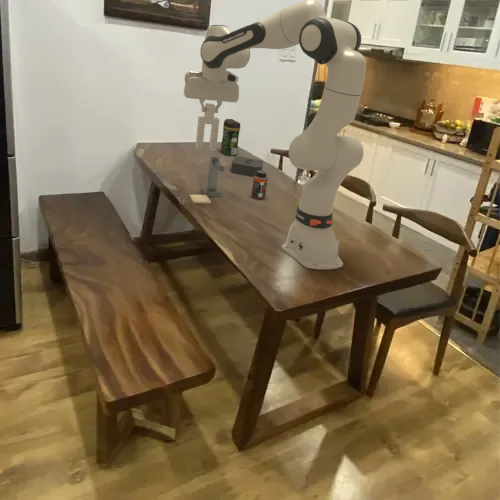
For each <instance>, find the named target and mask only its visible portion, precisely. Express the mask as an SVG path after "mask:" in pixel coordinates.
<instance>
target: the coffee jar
mask: <svg viewBox="0 0 500 500" xmlns="http://www.w3.org/2000/svg"><path fill="white" fill-rule="evenodd" d="M222 127H223V130H222V139H221V145H220V152H221V153H222V154H223V155H226V156H230V157H234V156H237V155H238V146H239V136H240V131H241V122H239V121H236V120H235V119H233V118H225V119H224V121H223V126H222Z"/></svg>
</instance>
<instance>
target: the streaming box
mask: <svg viewBox="0 0 500 500" xmlns="http://www.w3.org/2000/svg"><path fill="white" fill-rule="evenodd" d="M263 167H264V161H263V160H260V159H257V158H250V157H245V156H244V157H243V156H235V157H234V158H233V160H232V161H231V168H230V173H232V174H237V175H243V176H247V177H249V176H250V177H254V176H256V175H257V171H263Z"/></svg>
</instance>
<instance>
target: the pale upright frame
mask: <svg viewBox="0 0 500 500" xmlns="http://www.w3.org/2000/svg"><path fill="white" fill-rule="evenodd" d="M204 107H207V110H206V112H204V115H203V116H200V115H199V116H198V119H197V130H196V138H195V139H196V140H195V149H196V150H197V151H203V149H204V148H203V147H204V137H205V129H206V125H211V128H210V135H209V145H208V146H209V147H208V149H209V150H210V151H212V152H213V151H214V152H216V151H217V145H218V138H219V137H218V136H219V127H220V126H219V125H220V119H219V117H215V114H216V113H215V108H216V105H215V104H214V103H208V102H207V103H205V104H204Z"/></svg>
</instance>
